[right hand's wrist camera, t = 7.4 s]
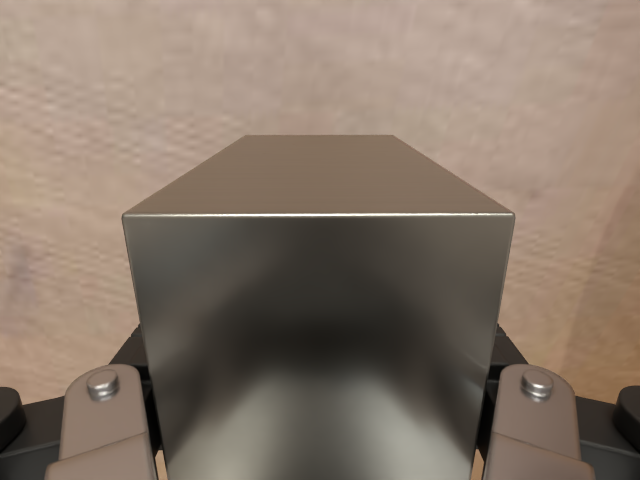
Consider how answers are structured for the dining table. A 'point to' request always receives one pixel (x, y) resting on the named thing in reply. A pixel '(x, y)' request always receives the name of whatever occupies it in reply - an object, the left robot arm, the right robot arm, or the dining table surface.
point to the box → (318, 311)
